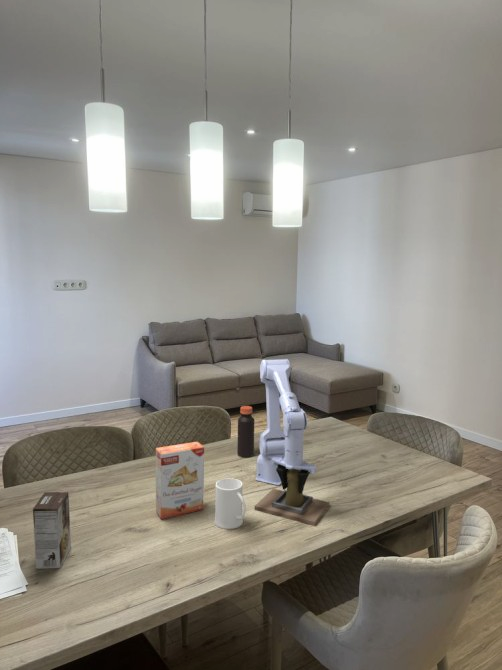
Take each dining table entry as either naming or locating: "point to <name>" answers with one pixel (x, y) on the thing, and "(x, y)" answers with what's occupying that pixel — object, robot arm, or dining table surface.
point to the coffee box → (51, 530)
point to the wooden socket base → (304, 513)
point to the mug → (229, 503)
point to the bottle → (245, 432)
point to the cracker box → (179, 479)
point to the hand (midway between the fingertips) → (292, 490)
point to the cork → (293, 489)
